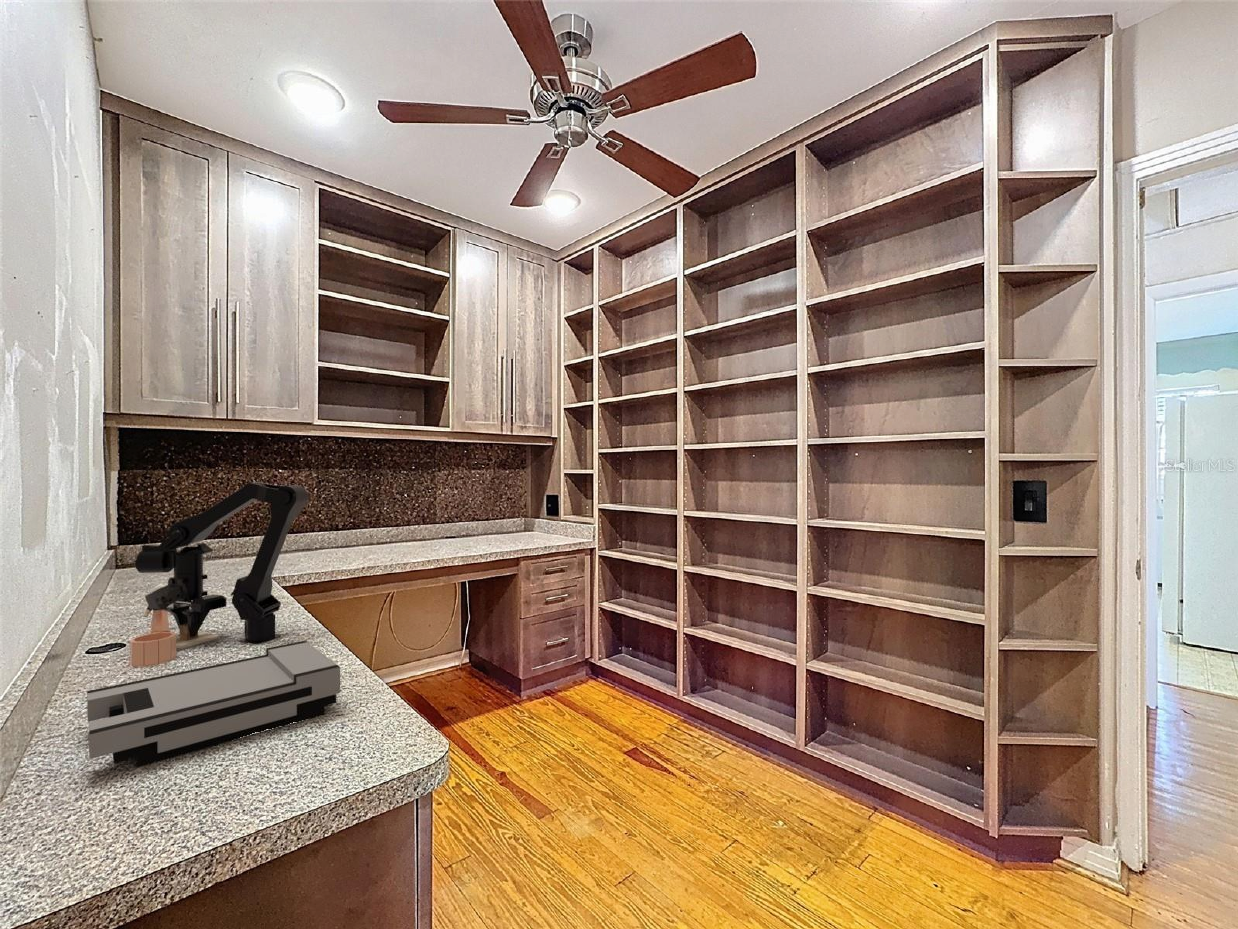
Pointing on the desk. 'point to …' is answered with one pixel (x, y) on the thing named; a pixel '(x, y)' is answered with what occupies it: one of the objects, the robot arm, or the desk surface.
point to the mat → (202, 643)
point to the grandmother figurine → (158, 617)
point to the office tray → (210, 704)
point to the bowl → (152, 649)
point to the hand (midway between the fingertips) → (188, 636)
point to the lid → (187, 641)
